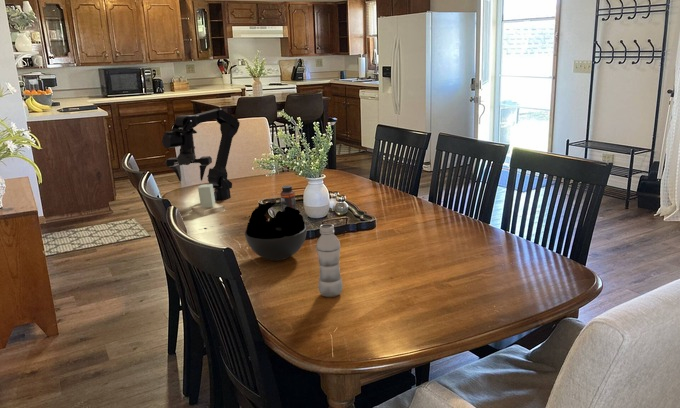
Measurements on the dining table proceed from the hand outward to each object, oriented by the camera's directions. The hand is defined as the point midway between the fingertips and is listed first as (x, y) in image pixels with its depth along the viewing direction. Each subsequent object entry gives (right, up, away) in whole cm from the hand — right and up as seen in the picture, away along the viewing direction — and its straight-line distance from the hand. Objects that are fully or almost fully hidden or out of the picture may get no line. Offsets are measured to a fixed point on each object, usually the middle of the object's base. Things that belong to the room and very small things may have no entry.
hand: (191, 180), depth 247 cm
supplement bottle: (+43, -14, -9) cm, 46 cm away
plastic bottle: (+62, -35, -89) cm, 114 cm away
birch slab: (+8, -13, -3) cm, 16 cm away
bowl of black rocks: (+44, -28, -59) cm, 79 cm away
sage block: (+8, -11, -4) cm, 14 cm away
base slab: (+9, -15, -3) cm, 17 cm away
